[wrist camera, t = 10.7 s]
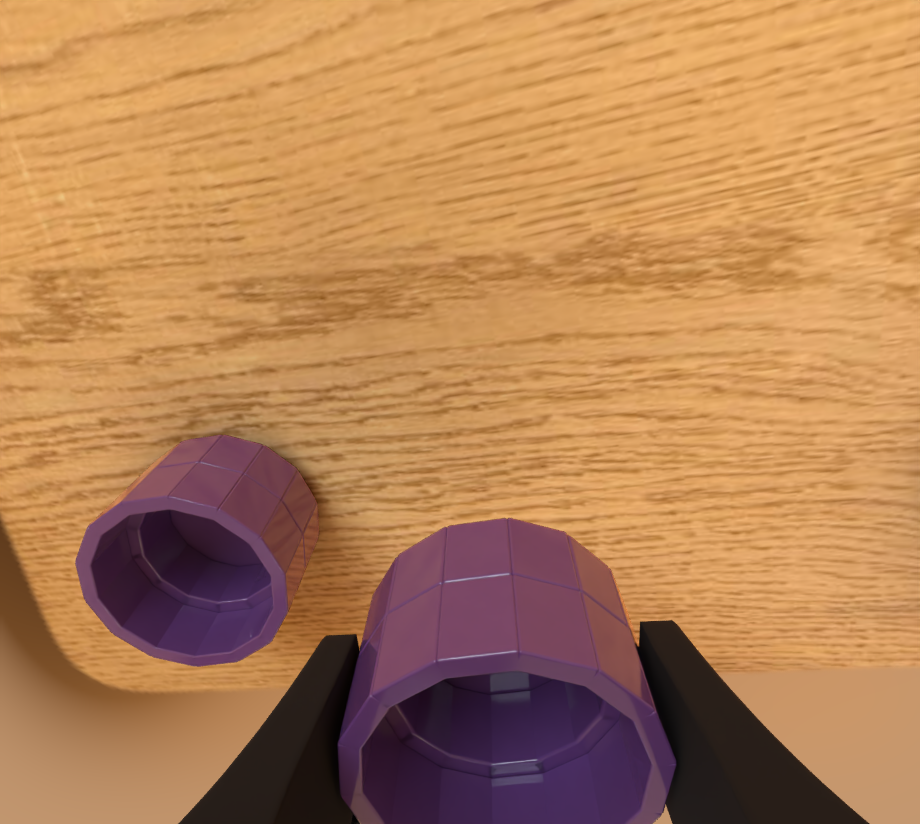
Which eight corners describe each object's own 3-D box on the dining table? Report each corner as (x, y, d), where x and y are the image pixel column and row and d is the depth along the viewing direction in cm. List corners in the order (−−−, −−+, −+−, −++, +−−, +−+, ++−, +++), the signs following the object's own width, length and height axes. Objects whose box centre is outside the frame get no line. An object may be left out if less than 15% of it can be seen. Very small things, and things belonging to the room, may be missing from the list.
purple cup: (503, 731, 15) (513, 920, 11) (325, 613, 14) (269, 783, 10) (671, 605, 13) (747, 778, 10) (487, 455, 12) (491, 589, 8)
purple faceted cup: (262, 600, 21) (217, 696, 17) (121, 508, 19) (38, 591, 16) (358, 501, 19) (329, 584, 15) (210, 393, 18) (140, 455, 14)
